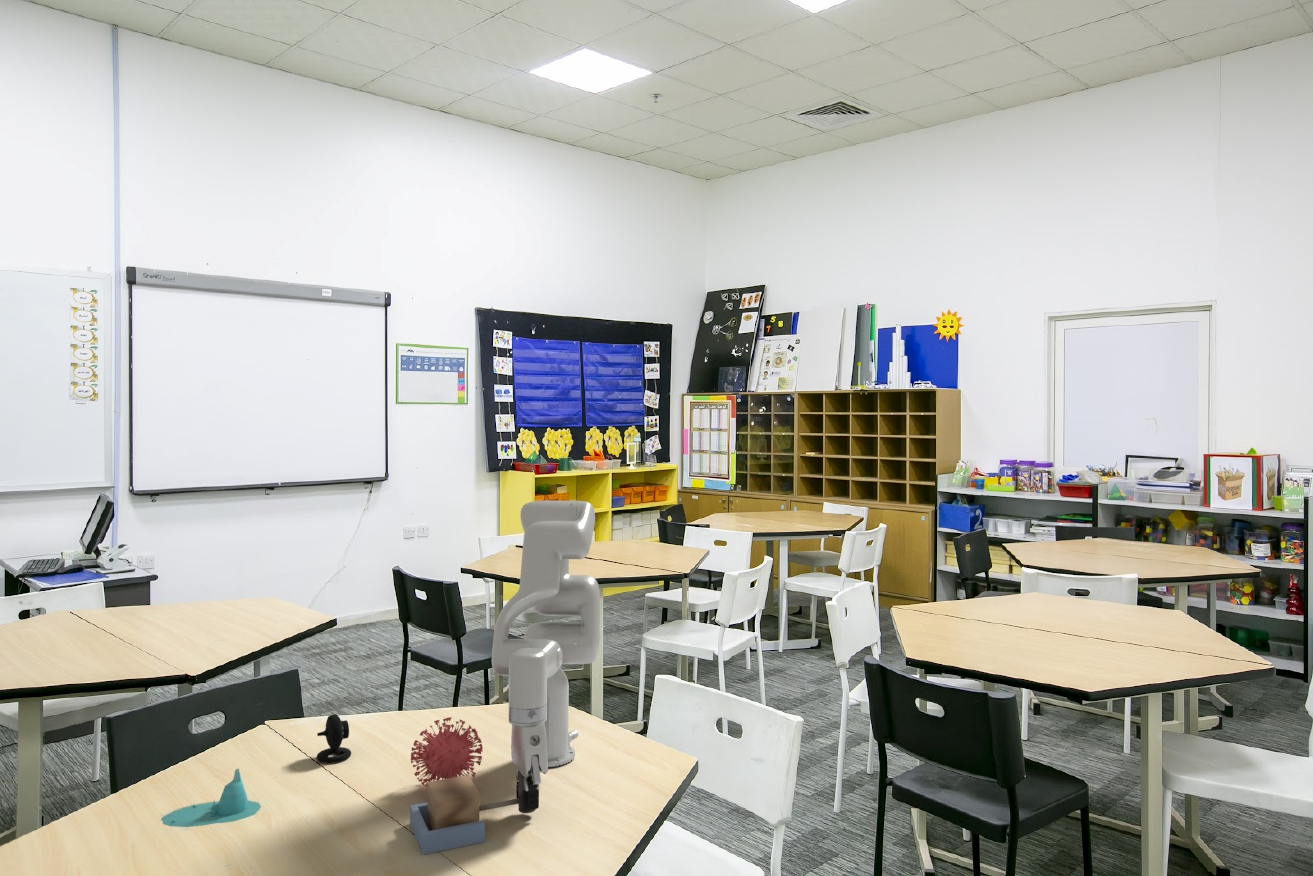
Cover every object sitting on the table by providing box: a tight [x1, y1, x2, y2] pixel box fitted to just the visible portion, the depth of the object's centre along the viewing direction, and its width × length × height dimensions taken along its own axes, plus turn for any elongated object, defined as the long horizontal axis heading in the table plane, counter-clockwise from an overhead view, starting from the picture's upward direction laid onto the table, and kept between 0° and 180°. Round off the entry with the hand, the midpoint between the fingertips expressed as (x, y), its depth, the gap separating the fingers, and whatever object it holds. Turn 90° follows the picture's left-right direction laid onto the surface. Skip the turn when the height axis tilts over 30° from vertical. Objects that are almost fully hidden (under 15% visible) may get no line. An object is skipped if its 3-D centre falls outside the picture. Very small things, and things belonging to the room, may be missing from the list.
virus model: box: [410, 717, 483, 789], centre depth 178 cm, size 15×15×15 cm
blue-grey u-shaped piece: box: [409, 802, 486, 856], centre depth 159 cm, size 11×13×4 cm
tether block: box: [426, 771, 537, 830], centre depth 162 cm, size 20×9×7 cm, turn 115°
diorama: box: [160, 768, 262, 828], centre depth 167 cm, size 12×20×9 cm, turn 105°
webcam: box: [316, 714, 352, 764], centre depth 195 cm, size 8×8×10 cm
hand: (527, 804), depth 166 cm, fingers closed on tether block, 3 cm apart
